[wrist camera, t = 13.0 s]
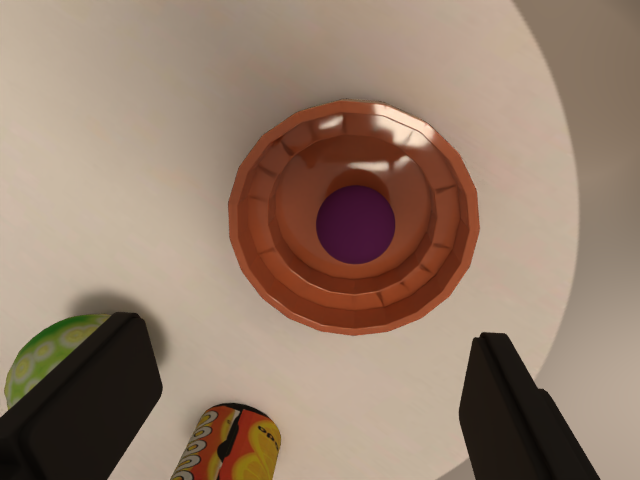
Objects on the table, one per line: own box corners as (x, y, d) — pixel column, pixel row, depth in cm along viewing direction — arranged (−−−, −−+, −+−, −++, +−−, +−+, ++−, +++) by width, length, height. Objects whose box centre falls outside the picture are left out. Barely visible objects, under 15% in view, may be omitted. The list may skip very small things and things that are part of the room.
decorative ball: (150, 389, 36) (78, 489, 27) (62, 341, 35) (-44, 429, 26) (187, 328, 33) (118, 421, 23) (89, 272, 31) (-24, 347, 22)
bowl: (250, 90, 24) (223, 91, 19) (482, 108, 22) (512, 113, 18) (252, 284, 30) (232, 319, 25) (434, 307, 28) (447, 348, 24)
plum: (330, 167, 24) (333, 183, 19) (398, 191, 25) (418, 213, 20) (306, 233, 26) (304, 263, 21) (370, 254, 27) (383, 288, 22)
